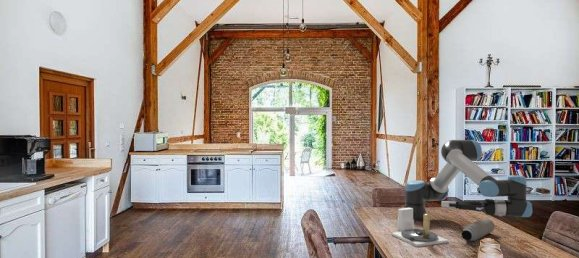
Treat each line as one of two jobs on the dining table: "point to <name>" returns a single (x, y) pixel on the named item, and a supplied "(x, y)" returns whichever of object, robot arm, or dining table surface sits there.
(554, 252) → the dining table surface
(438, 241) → the base plate
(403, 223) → the cylinder with rectangular tab
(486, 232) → the thermos bottle
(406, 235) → the cam dial
